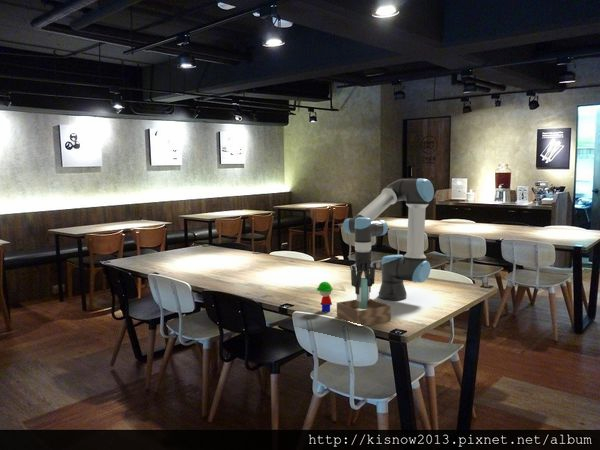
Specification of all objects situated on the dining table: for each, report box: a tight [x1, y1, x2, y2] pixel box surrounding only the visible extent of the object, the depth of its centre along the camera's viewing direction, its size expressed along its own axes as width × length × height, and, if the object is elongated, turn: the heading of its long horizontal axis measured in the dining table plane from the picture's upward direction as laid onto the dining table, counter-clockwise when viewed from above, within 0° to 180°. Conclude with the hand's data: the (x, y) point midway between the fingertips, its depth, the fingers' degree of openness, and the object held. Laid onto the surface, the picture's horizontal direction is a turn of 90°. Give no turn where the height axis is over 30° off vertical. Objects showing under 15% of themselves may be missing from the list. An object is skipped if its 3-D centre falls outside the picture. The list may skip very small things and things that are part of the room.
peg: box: [359, 277, 367, 309], centre depth 231 cm, size 4×4×14 cm
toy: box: [316, 281, 334, 313], centre depth 245 cm, size 8×8×15 cm
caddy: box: [336, 298, 392, 327], centre depth 232 cm, size 18×18×7 cm
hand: (363, 300), depth 231 cm, fingers closed on peg, 4 cm apart
